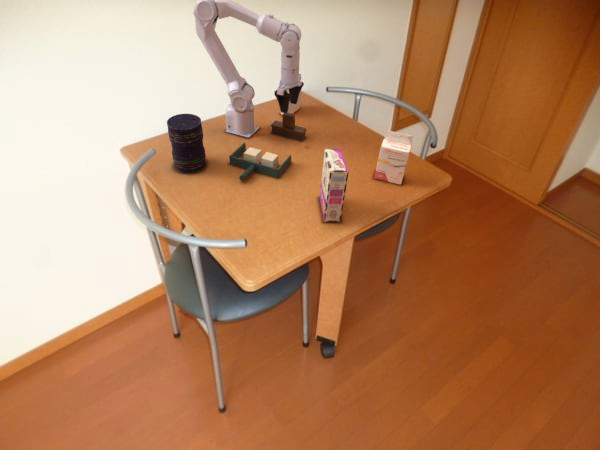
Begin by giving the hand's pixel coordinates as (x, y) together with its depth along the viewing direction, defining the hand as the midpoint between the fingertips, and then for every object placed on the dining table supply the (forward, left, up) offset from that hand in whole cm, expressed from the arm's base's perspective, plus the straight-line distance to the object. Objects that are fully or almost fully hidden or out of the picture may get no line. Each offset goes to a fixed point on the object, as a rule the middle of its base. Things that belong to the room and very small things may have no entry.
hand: (288, 107), depth 141 cm
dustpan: (0, -24, -10) cm, 26 cm away
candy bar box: (+28, -32, -11) cm, 44 cm away
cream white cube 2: (+3, -21, -10) cm, 24 cm away
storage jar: (-19, -32, -11) cm, 38 cm away
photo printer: (-7, +18, -11) cm, 22 cm away
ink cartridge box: (+39, -10, -11) cm, 42 cm away
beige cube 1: (-3, -21, -10) cm, 24 cm away
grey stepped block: (0, 0, -10) cm, 10 cm away
